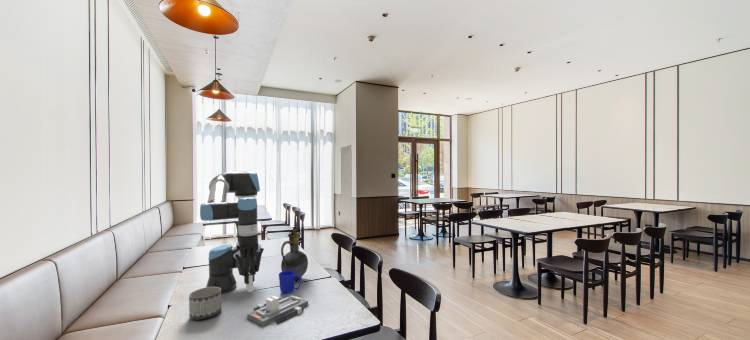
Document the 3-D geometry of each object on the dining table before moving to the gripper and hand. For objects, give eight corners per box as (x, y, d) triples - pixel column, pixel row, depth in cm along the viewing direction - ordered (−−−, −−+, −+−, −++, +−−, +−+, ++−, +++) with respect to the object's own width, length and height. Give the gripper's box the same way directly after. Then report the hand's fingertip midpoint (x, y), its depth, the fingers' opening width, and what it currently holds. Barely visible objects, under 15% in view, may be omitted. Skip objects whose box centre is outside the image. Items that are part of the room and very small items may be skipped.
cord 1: (252, 311, 138) (252, 307, 138) (278, 301, 149) (278, 296, 149) (255, 313, 136) (255, 308, 136) (281, 302, 147) (281, 297, 147)
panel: (247, 318, 132) (247, 311, 132) (292, 298, 151) (292, 292, 151) (262, 326, 125) (262, 318, 125) (308, 304, 144) (308, 298, 144)
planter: (199, 324, 128) (198, 300, 128) (183, 317, 134) (183, 294, 134) (227, 312, 138) (226, 289, 138) (211, 306, 145) (211, 284, 145)
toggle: (266, 309, 135) (266, 298, 135) (274, 306, 138) (273, 295, 138) (271, 312, 133) (271, 300, 133) (279, 308, 136) (279, 297, 136)
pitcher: (310, 276, 182) (309, 227, 183) (290, 288, 165) (288, 233, 165) (296, 274, 187) (294, 226, 187) (274, 285, 169) (273, 232, 169)
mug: (297, 295, 155) (297, 276, 155) (276, 294, 157) (275, 275, 157) (304, 289, 163) (304, 271, 163) (284, 288, 165) (283, 270, 165)
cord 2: (274, 322, 128) (274, 317, 128) (300, 309, 139) (300, 305, 139) (278, 324, 126) (277, 319, 126) (304, 311, 137) (304, 306, 137)
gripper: (237, 238, 119) (239, 298, 119) (267, 232, 130) (268, 287, 129) (228, 236, 124) (229, 293, 124) (257, 230, 134) (258, 283, 134)
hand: (249, 290), depth 126 cm, fingers closed
